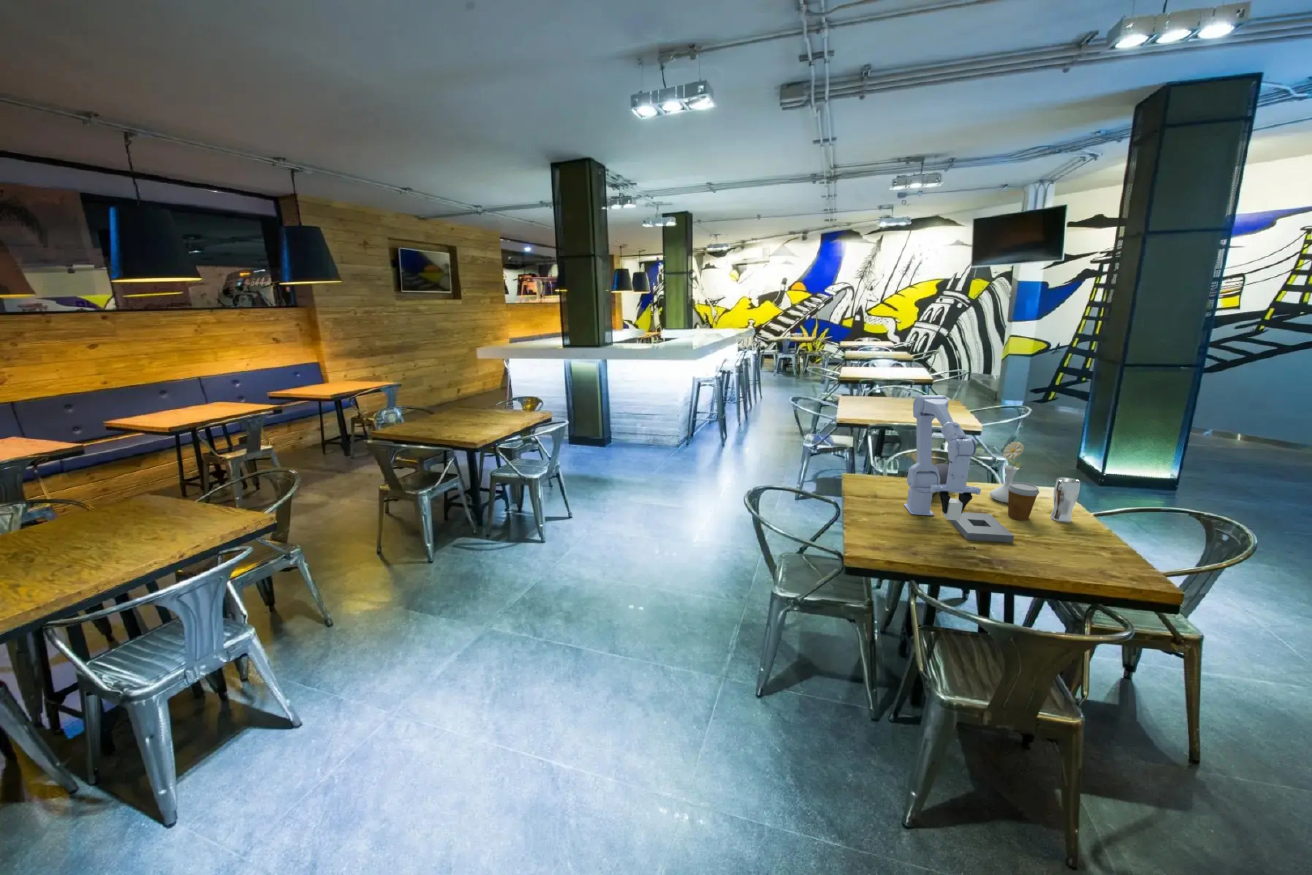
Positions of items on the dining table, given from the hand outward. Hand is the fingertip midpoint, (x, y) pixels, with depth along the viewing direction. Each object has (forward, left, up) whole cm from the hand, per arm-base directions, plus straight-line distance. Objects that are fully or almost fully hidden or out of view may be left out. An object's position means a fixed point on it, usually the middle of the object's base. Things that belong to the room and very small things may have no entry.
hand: (951, 512), depth 172 cm
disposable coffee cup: (-21, +31, -9) cm, 38 cm away
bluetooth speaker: (-45, +9, -9) cm, 47 cm away
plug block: (0, 0, -2) cm, 2 cm away
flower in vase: (-37, +34, -9) cm, 51 cm away
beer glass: (-21, +45, -9) cm, 50 cm away
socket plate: (-7, +12, -8) cm, 16 cm away
